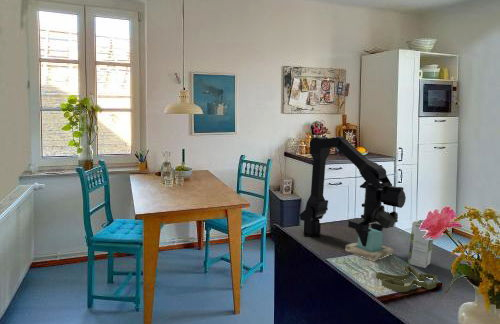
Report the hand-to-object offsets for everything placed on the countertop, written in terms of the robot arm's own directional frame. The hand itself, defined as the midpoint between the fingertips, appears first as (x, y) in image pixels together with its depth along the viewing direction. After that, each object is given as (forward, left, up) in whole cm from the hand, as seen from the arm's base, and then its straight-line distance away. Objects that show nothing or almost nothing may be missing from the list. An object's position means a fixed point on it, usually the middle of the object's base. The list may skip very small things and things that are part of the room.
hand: (369, 244), depth 134 cm
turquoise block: (0, 0, -2) cm, 2 cm away
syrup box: (+14, -9, -3) cm, 17 cm away
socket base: (0, 0, -3) cm, 3 cm away
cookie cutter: (+4, -23, -4) cm, 24 cm away
